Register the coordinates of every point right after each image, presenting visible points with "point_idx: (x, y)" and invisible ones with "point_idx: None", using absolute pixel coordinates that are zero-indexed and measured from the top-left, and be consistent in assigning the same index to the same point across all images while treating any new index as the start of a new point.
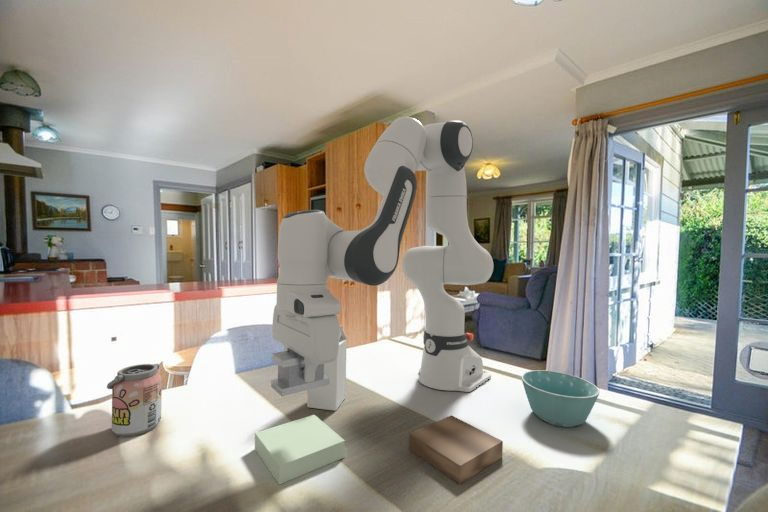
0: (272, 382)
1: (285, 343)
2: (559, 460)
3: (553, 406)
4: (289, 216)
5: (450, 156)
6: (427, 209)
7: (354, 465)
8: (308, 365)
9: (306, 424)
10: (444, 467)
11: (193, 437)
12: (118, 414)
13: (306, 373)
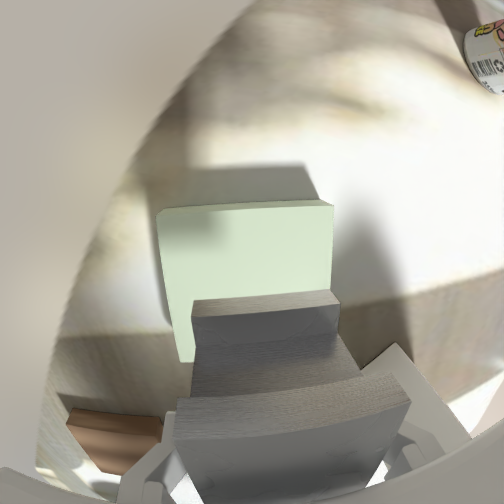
0: (322, 302)
1: (405, 492)
2: (90, 472)
3: None
4: None
5: None
6: None
7: (153, 343)
8: (126, 474)
9: None
10: (91, 417)
11: (426, 112)
12: (489, 24)
13: (162, 441)
